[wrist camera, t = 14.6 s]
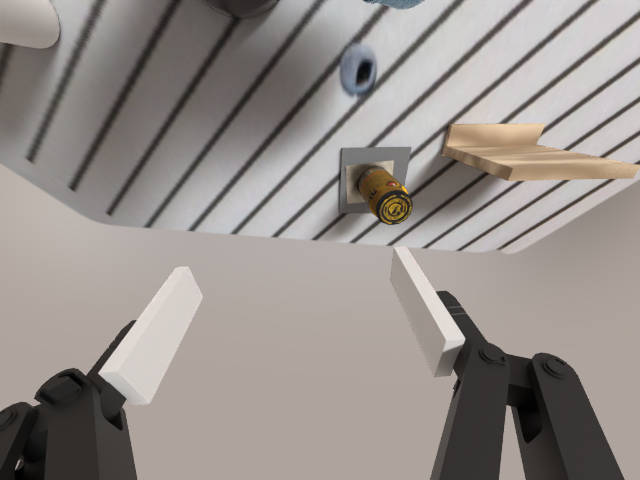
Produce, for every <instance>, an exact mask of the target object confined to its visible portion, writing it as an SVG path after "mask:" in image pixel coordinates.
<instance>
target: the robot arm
mask: <svg viewBox="0 0 640 480" xmlns="http://www.w3.org/2000/svg"><path fill="white" fill-rule="evenodd" d="M203 1H204V2H205V3H206V4H207V5H209V6H210V7H211V8H213V9H214V10H216V11H218V12H220V13H222V14H224V15H227V16H229V17H233V18H242V19H243V18H252V17H256V16H258V15H261V14H263V13H264V12H266V11H268V10H269V9H270V8H271V7H272V6H274V5H275V3H276V2H277V1H278V0H203ZM363 1H365V2H366V3H369V2H370V3H372V4H374V3H380V4H383V5H386V6H390V7H393V8H396V9H409V8H412V7H415V6H416V5H418V4H420V3H421V2H423V1H424V0H363ZM390 280H391V283H392V285H393V287H394V289H395V292H396V294H397V296H398V298H399V301H400V303H401V305H402V307H403V309H404V312H405V314H406V316H407V318H408V321H409V323H410V325H411V327H412V330H413V332H414V334H415V336H416V339H417V341H418V343H419V345H420V347H421V350H422V352H423V354H424V356H425V359H426V361H427V363H428V365H429V368H430V370H431V372H432V374H433V376H434V377H441V376H450V375H451V373H452V370H453V369H454V371H455V373H456V374H457V376H458V379H457V381H456V383H455V385H454V388H453V389H454V393H453V396H452V400H451V404H450V407H449V412H448V415H447V419H446V423H445V426H444V430H443V434H442V437H441V441H440V445H439V448H438V452H437V456H436V460H435V463H434V467H433V470H432V475H431V478H430V480H499V472H500V462H501V452H502V443H503V433H504V423H505V413H506V405H509V406H511V409H512V413H513V419H514V423H515V428H516V433H517V438H518V444H519V448H520V453H521V458H522V463H523V468H524V473H525V478H526V480H624V477H623V475H622V473H621V471H620V468H619V466H618V464H617V462H616V460H615V457H614V455H613V453H612V451H611V448H610V446H609V444H608V442H607V440H606V437H605V435H604V433H603V431H602V429H601V426H600V424H599V422H598V420H597V417H596V415H595V413H594V411H593V408H592V406H591V404H590V402H589V399H588V397H587V395H586V393H585V391H584V389H583V386H582V384H581V382H580V379H579V377H578V375H577V374H576V372H575V371H574V369H573V368H572V367H571V366H570V365H568V364H567V363H566V362H565V361H563V360H562V359H560V358H558V357H556V356H554V355H550V354H547V353H538V354H535V355H534V357H533V358H532V359H529V358H524V357H519V356H514V355H509V354H506V353H504V352H503V351H502V350H501V349H500V348H498V347H497V346H495V345H493V344H491V343H488V342H487V340H486V339H485V338H484V337H483V335H482V334H481V332H480V331H479V330H478V328H477V327H476V326H475V324H474V323H473V321H472V320H471V319H470V317H469V316H468V315H467V314H466V312H465V311H464V309H463V308H462V307H461V305H460V303H459V302H458V301H457V299H456V298H455V297H454V296H453V295H451V294H450V293H449V292H447V291H438V292H435V291H434V289H433V288H432V286H431V284H430V283H429V281H428V280H427V278H426V277H425V275H424V274H423V272H422V270H421V269H420V267H419V266H418V264H417V263H416V261H415V260H414V258H413V257H412V255H411V253H410V252H409V250H408V249H407V247H406V246H400V247H394V249H393V258H392V268H391V277H390ZM202 298H203V296H202V294H201V292H200V290H199V288H198V286H197V284H196V282H195V280H194V277H193V275H192V273H191V271H190V269H189V267H188V266H186V267H177V268H175V270H174V271H173V272H172V274H171V275H170V276H169V278H168V279H167V281H166V282H165V283H164V284H163V286H162V287H161V289H160V290H159V291H158V293H157V294H156V295H155V297H154V298H153V299H152V301H151V302H150V304H149V305H148V306H147V307H146V309H145V310H144V312H143V313H142V315H141V316H140V317H139V318H138V320H133V321H131V322H130V323H129V324H128V325H127V326H125V327H124V328H123V329H122V330H121V331H120V333H119V334H118V336H116V338H115V340H114V341H113V342H112V343H111V344H110V346H109V348H108V349H106V351H105V352H104V353H103V355H102V356H101V357H100V359H99V360H98V361H97V362H96V364H95V365H94V366H93V368H92V369H91V370H90V371H89V373H88V374H87V375H86V376H85V375H84V374H83V373H82V372H81V371H79V370H78V369H75V368H71V369H66V370H64V371H62V372H60V373H58V374H56V375H55V376H53V377H51V378H50V379H49V380H48V381H46V382H45V383H44V384H43V385H42V386H41V388H40V389H39V390H38V391H37V392H36V395H35V398H34V399H36V400H37V401H38V402H40V403H41V404H40V405H37V406H34V407H33V406H31V405H30V404H28V403H26V402H19V403H16V404H13V405H11V406H9V407H7V408H5V409H4V410H2V411H1V412H0V480H137V475H136V469H135V464H134V459H133V453H132V447H131V442H130V436H129V430H128V425H127V419H126V414H125V411H124V409H123V408H122V406H123V404H124V402H125V401H126V399H127V400H128V401H129V402H130V403H131V404H132V405H142V404H150V402H151V400H152V398H153V396H154V394H155V392H156V390H157V388H158V386H159V384H160V382H161V380H162V378H163V376H164V374H165V372H166V370H167V368H168V366H169V364H170V362H171V360H172V358H173V356H174V354H175V352H176V350H177V348H178V346H179V344H180V342H181V340H182V338H183V336H184V334H185V331H186V330H187V328H188V326H189V324H190V322H191V320H192V318H193V316H194V314H195V312H196V310H197V308H198V306H199V304H200V302H201V300H202ZM18 460H20V463H19V465H18V467H17V469H16V470H15V467H16V465H17V462H18Z"/></svg>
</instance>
